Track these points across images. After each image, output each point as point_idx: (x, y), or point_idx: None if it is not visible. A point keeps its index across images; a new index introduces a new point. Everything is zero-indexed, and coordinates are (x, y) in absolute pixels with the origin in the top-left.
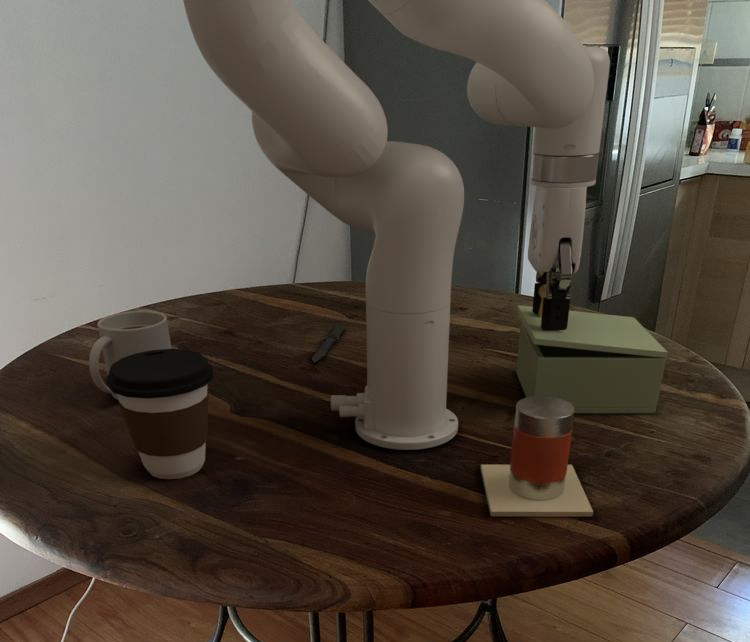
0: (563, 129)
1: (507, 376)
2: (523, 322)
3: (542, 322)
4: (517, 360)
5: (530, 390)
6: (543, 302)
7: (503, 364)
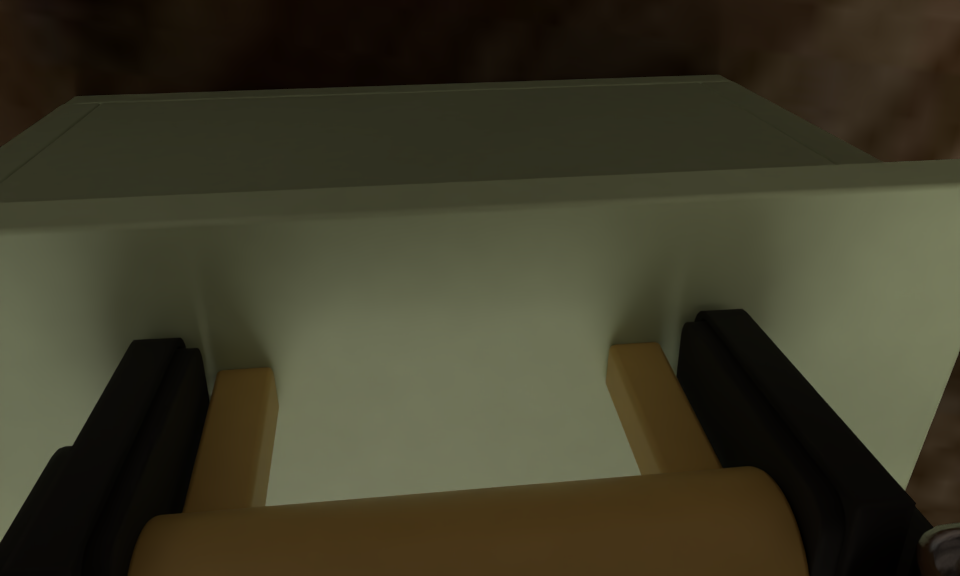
0: None
1: (675, 11)
2: (527, 182)
3: (112, 376)
4: (748, 92)
5: (191, 113)
6: (43, 523)
7: (883, 9)
